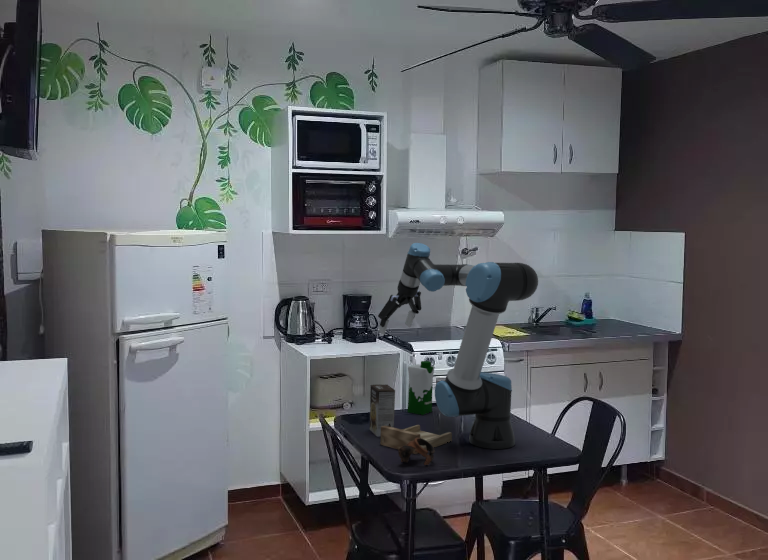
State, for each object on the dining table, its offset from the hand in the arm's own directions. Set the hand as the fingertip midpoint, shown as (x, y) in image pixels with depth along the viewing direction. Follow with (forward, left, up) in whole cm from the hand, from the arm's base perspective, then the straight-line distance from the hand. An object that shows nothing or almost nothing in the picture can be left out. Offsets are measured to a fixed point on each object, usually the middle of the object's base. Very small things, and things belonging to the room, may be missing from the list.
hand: (394, 329), depth 272 cm
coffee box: (-14, +23, -33) cm, 42 cm away
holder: (-30, +25, -33) cm, 51 cm away
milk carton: (-6, -10, -33) cm, 35 cm away
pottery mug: (-41, +41, -33) cm, 67 cm away
